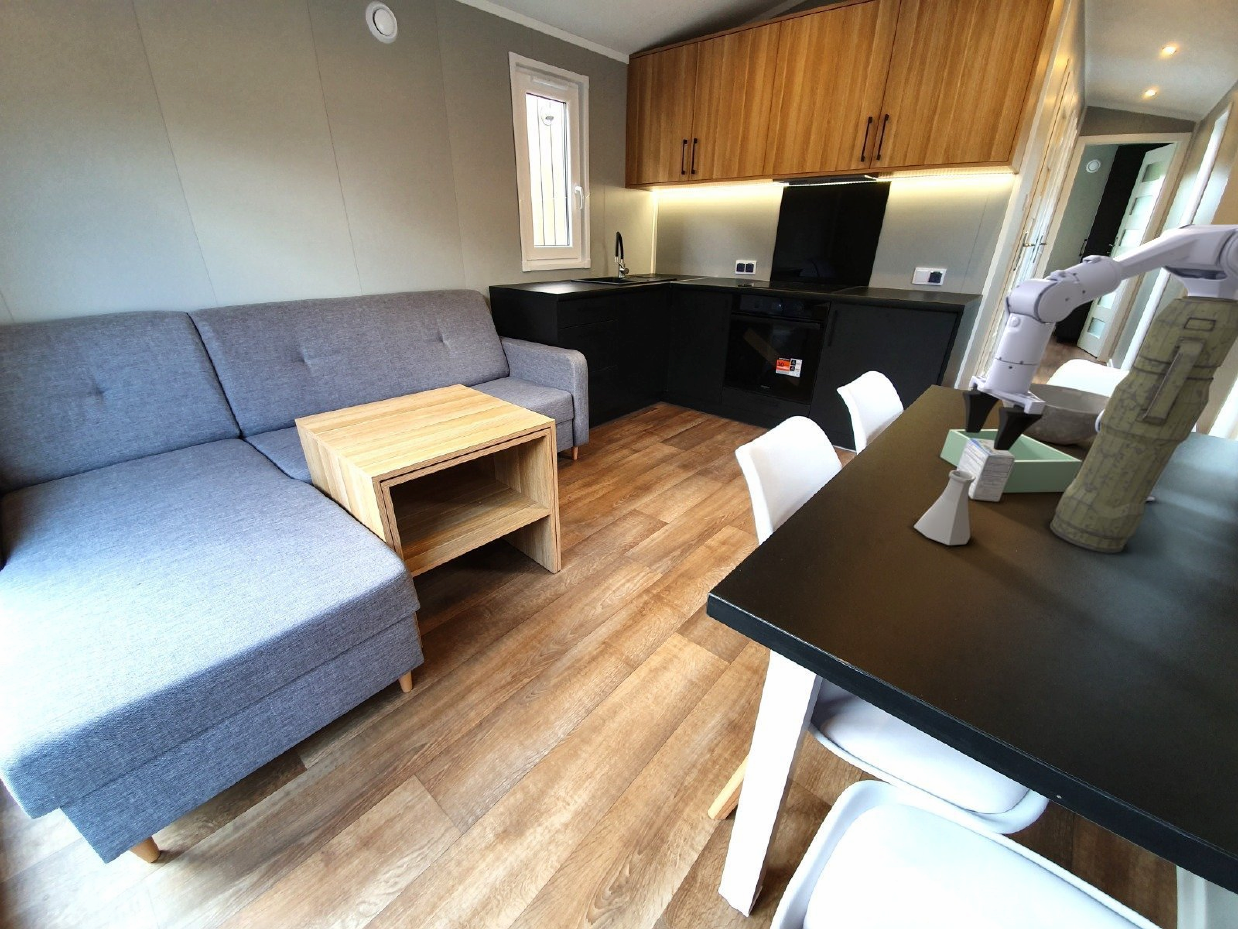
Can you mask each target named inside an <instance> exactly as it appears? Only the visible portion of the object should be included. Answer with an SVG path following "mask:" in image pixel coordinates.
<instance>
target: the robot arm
mask: <svg viewBox="0 0 1238 929" xmlns="http://www.w3.org/2000/svg"><path fill="white" fill-rule="evenodd" d="M1161 268H1162V269H1163V270H1164V271H1166V272H1167V273H1169V274H1170V275H1171V276H1172V277H1174V278H1175V279H1176V280H1177V281H1179V282H1181V283H1182V284H1183V285H1184V287H1185V289H1186V291H1187V295H1186V296H1203V297H1216V298H1227V299H1236V300H1238V224H1195V223H1185V224H1181V225H1179V226H1177V227H1175V228H1171V229H1167V230H1165V231H1163V232H1162V234H1161V235H1160V237H1157V238H1155V239H1153V240H1151V241H1148V242H1146V243H1144V244H1142V245H1140V246H1137V247H1135V248H1133V249H1131V250H1129V251H1127V252H1125V253H1122V254H1120V255H1118V256H1116V257H1114V258H1112V257H1110V256H1106V255H1094V254H1093V255H1089V256H1086V257H1084V258H1082V262H1081V263H1078V264H1075V265H1073V266H1071V267H1068V268H1065V269H1063V270H1062V269H1057V270H1054V271H1051V272H1050V274H1049V275H1048V276H1046V277H1045V278H1029V279H1026V280H1023V281H1022V282H1020V283H1019V284H1017V285H1016V286H1015V287H1013V289H1012V290H1011V292H1010V293H1009V295H1008V296H1005V298H1004V303H1003V306H1004V307H1003V308H1004V310H1005V319H1004V321H1003V324H1004V330H1003V333H1002V336H1001V339H1000V341H999V345H998V347H997V350H996V352H995V355H994V358H993V361H992V364H991V367H990V369H989V372H988V375H987V376H983V375H972V376H971V378H970V381H969V384H968V387H969V388H970V389H971V390H968V389H967V390H963V391H962V394H961V395H962V398H963V400H964V401H963V402H964V406H965V407H964V408H965V423H964V425H965V426H964V429H965V432H967V433H979V432H980V431H981V429H983V427H984V425H985V424H986V421H987V419H988V417H989V415H990V414H991V412H992V410H993V408H994V407H995V406H996V405H997V403H998V402H999V401H1000V400H1001V401H1002V400H1003V401H1005V402H1007V403H1010V404H1012V405H1014V406H1013V408H1012V407H1004V406H998V409H997V410H998V427H997V429H998V431H997V435H996V438H995V441H994V449H995V450H1004V451H1008V450H1009V449H1010V448H1011V447H1012V445H1013V444H1014V443H1015V442H1016V440H1017V439H1018V438H1019V437H1020V436H1021V435H1022V434H1023V432H1024V431H1026V430H1027V429H1028V428H1029V427H1030V426H1031V425H1033V424H1034V423H1035V422H1037V421H1038V420H1040V419H1041V418H1042V416H1043V413H1042V411H1043V408H1044V406H1045V403H1046V402H1045V401H1042V400H1040V399H1039V398H1037V397H1036V396H1035V395H1034V394H1032V393H1031V392H1030V391H1028V390H1029V388H1030V385H1031V383H1033V380H1034V379H1035V375H1036V373H1037V370H1038V368H1039V366H1040V364H1041V360H1042V358H1043V355H1044V353H1045V351H1046V348H1047V346H1048V343H1049V340H1050V338H1051V336H1052V333H1053V331H1054V328H1055V327H1056V326H1055V325H1056V323H1057V322H1061V321H1063V320H1064V319H1066V318H1067V317H1068V316H1069V315H1070V314H1071V313H1072V312H1073V311H1074V310H1075V309H1076V308H1078V307H1080V306H1081V305H1083V304H1086V303H1089V302H1091V301H1094V300H1096V299H1099V298H1101V297H1104V296H1106V295H1109V294H1112V293H1113V292H1114V291H1116V290H1117V289H1118V288H1119V287H1120V285H1121V284H1122V281H1124V280H1127V279H1131V278H1134V277H1136V276H1139V275H1143V274H1145V273H1149V272H1152V271H1155V270H1157V269H1161ZM1104 410H1105V409H1104ZM1104 410H1103V411H1102V412H1101V413H1100V414H1099V416H1098V418H1097V420H1096V424H1095V428H1096V431H1097V432H1099V430H1100V418H1101V416H1102V414H1103V412H1104ZM1166 468H1167V466H1166V467H1165V468H1164V470H1163V472H1162V474H1161V475H1160V477H1159V479H1158V481H1157V483H1156V484H1155V486H1154V488H1153V490H1152V491H1151V493H1150V495H1149V497H1148V498H1147V500H1146V502H1153V501H1155V497H1153V496H1151V495H1152V493H1153V491H1154V489H1155V488H1156V486H1157V484H1158V483H1159V481H1160V479H1161V478H1162V476H1163V474H1164V472H1165V470H1166ZM1075 479H1076V478H1074V480H1073V482H1074V481H1075ZM1073 482H1072V483H1073Z"/></svg>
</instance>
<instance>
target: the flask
mask: <svg viewBox="0 0 1238 929" xmlns="http://www.w3.org/2000/svg"><path fill="white" fill-rule="evenodd" d="M948 477H949V480H948V483H947V485H946V487H945V489H944V491H943V492H942V494H941V495H940V496H939V497H938V499H937V500H936V501H935V502H934V503H933V504H932V505H931V507H929V509H928V510H927V511H926V512H925V513H924V514H923V515H922V516H921V517H920V519H919V520H918V521H917V522H916V523H915V524H914V526H913V528H914V529H916V530H917V531H918V532H920V533H921V534H922V535H923V536H925V537H926V538H928V539H931V540H934V541H936V542H939V543H942V544H944V545H947V546H956V545H958V546H959V545H966V544H967V543H968V541H969V540H970V538H971V528H970V519H969V502H968V499H969V495H968V493H969V488H970V485H971V483H973V482H974V480H975V479H976V476H974V475H972V474H970V473H968V472H964V471H961V470H957V469H955V470H950V471H949V473H948Z"/></svg>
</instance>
